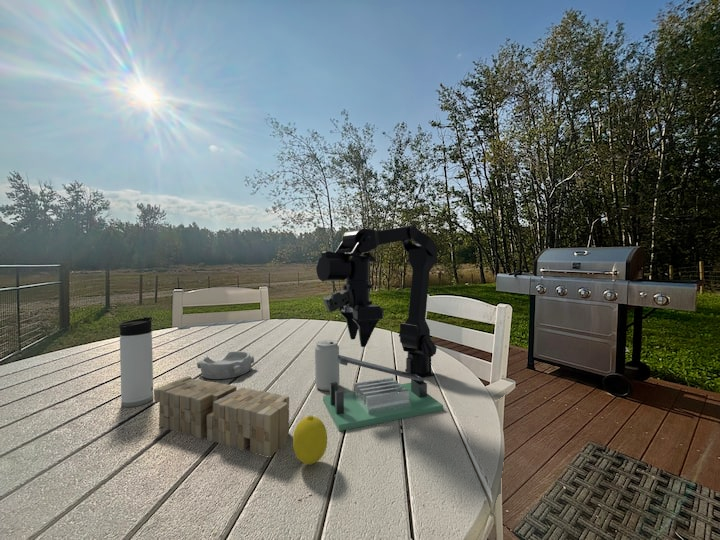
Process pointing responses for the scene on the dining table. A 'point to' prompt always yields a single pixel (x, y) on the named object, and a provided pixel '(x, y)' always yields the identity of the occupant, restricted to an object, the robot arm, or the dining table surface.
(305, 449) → the lemon
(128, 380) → the travel mug
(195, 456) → the dining table surface
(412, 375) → the strap
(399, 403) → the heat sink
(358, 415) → the circuit board
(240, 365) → the dish
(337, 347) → the beverage can
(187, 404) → the block tower
